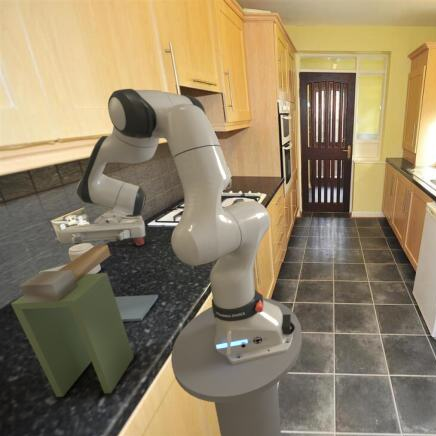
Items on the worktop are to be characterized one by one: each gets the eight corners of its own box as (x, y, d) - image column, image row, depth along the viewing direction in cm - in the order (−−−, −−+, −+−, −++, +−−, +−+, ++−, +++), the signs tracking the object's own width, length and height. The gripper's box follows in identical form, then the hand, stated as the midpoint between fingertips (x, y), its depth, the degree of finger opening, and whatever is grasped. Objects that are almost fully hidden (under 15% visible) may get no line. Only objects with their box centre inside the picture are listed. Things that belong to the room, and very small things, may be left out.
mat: (158, 296, 95) (157, 294, 95) (141, 320, 84) (140, 318, 84) (111, 299, 94) (110, 297, 94) (88, 323, 83) (87, 321, 83)
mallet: (116, 254, 70) (112, 241, 69) (59, 301, 52) (52, 283, 51) (92, 255, 70) (88, 242, 68) (26, 302, 52) (18, 285, 51)
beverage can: (82, 280, 105) (72, 253, 101) (73, 274, 109) (63, 248, 105) (105, 270, 112) (97, 245, 108) (95, 265, 116) (87, 240, 112)
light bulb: (129, 245, 134) (123, 223, 130) (145, 240, 139) (139, 219, 135) (135, 249, 130) (129, 227, 126) (150, 244, 135) (145, 222, 131)
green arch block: (134, 357, 71) (107, 272, 62) (111, 393, 62) (75, 300, 53) (86, 360, 70) (52, 275, 61) (56, 397, 61) (10, 303, 52)
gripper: (67, 219, 79) (44, 231, 66) (147, 215, 87) (139, 225, 74) (71, 240, 80) (49, 255, 68) (149, 233, 88) (142, 246, 76)
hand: (97, 239), depth 71 cm, fingers open, 8 cm apart
